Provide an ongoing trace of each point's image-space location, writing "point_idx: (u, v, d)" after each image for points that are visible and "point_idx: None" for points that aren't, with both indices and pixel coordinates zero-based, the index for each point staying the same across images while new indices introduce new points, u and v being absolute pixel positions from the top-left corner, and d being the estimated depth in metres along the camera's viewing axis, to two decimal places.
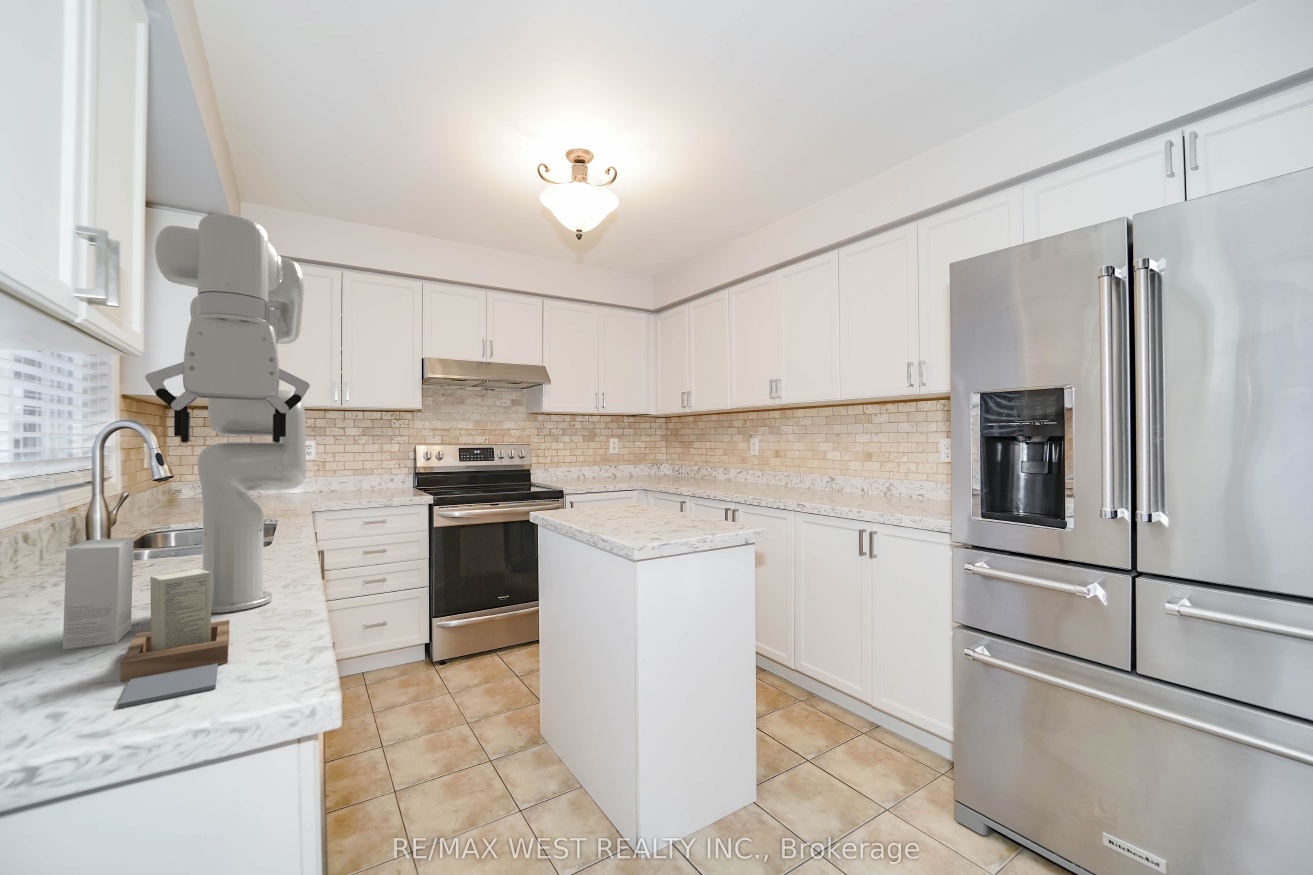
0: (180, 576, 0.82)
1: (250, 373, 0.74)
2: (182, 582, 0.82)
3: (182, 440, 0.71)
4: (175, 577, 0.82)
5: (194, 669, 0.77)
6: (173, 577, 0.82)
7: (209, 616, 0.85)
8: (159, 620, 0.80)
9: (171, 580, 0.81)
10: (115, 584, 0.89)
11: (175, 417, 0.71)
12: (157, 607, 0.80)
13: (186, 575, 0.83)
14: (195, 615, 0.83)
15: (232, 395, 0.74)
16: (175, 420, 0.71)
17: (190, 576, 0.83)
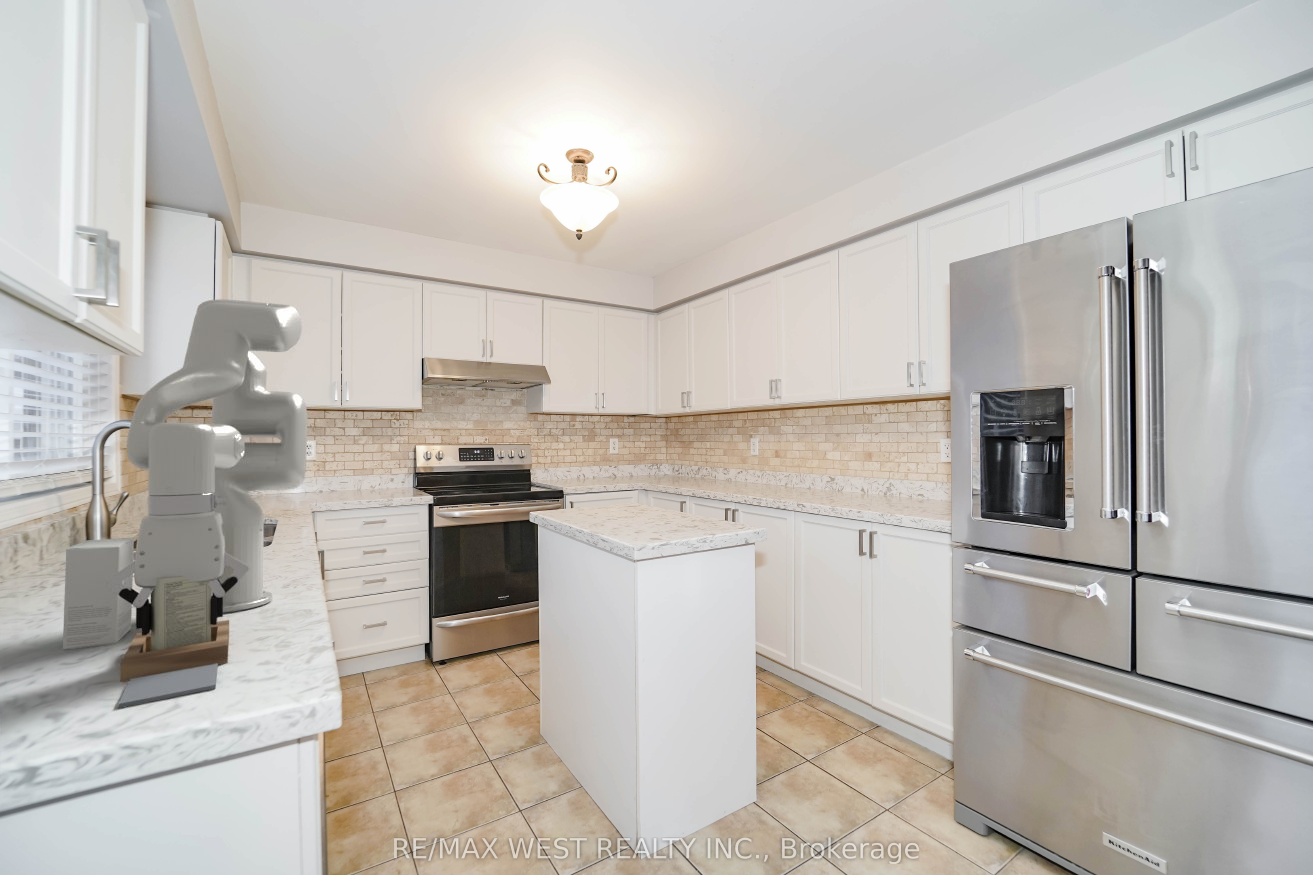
0: None
1: (196, 562, 0.83)
2: (182, 581, 0.82)
3: (143, 634, 0.80)
4: (175, 577, 0.82)
5: (194, 669, 0.77)
6: (173, 577, 0.82)
7: (209, 616, 0.85)
8: (159, 620, 0.80)
9: (171, 580, 0.81)
10: None
11: (137, 613, 0.80)
12: (157, 607, 0.80)
13: None
14: (194, 615, 0.83)
15: None
16: (137, 615, 0.80)
17: None
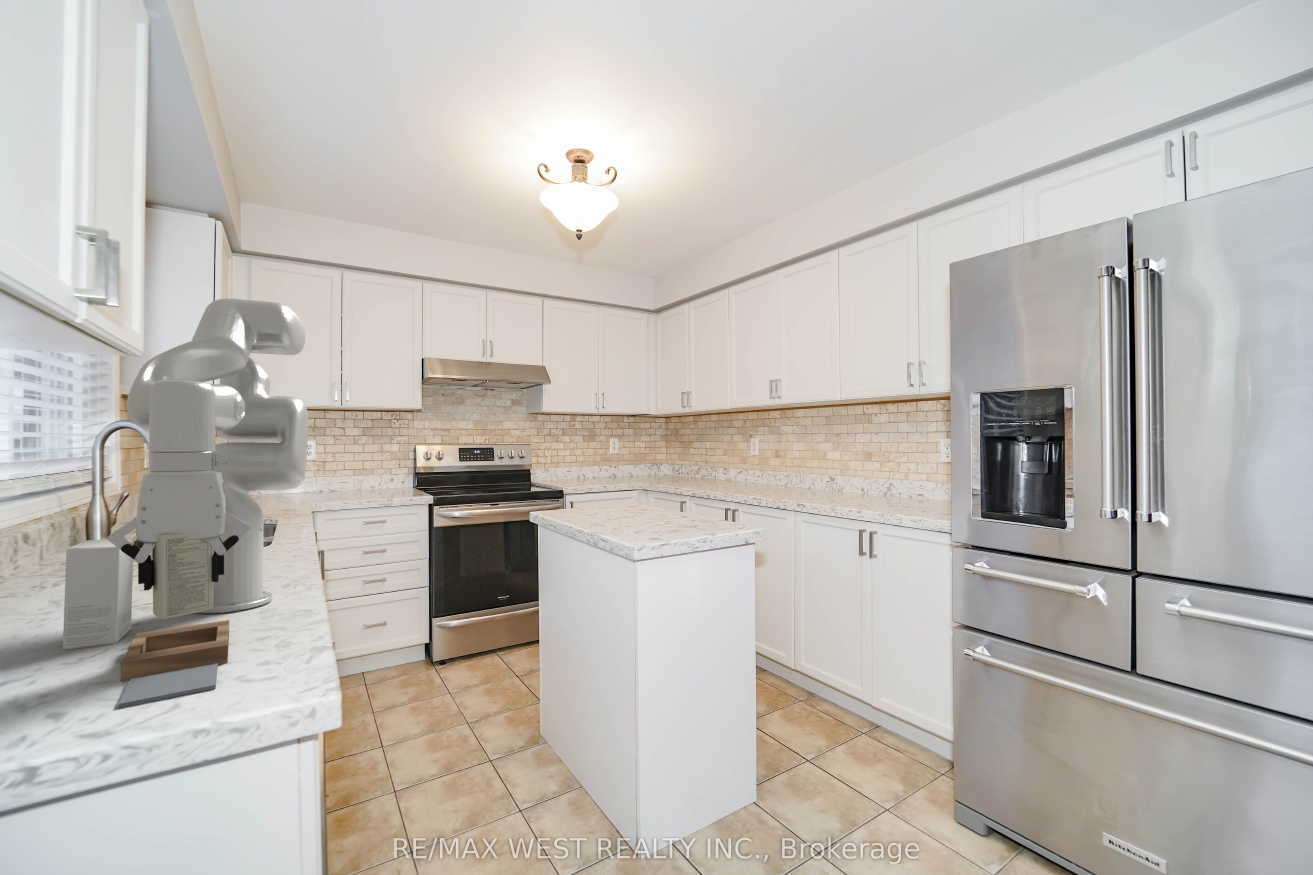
0: None
1: (198, 519, 0.83)
2: (183, 538, 0.82)
3: (145, 589, 0.81)
4: (177, 534, 0.82)
5: (194, 669, 0.77)
6: None
7: (210, 573, 0.85)
8: (161, 576, 0.81)
9: (172, 536, 0.81)
10: (115, 584, 0.89)
11: (139, 568, 0.81)
12: (159, 563, 0.81)
13: None
14: (196, 572, 0.84)
15: None
16: (139, 571, 0.81)
17: None
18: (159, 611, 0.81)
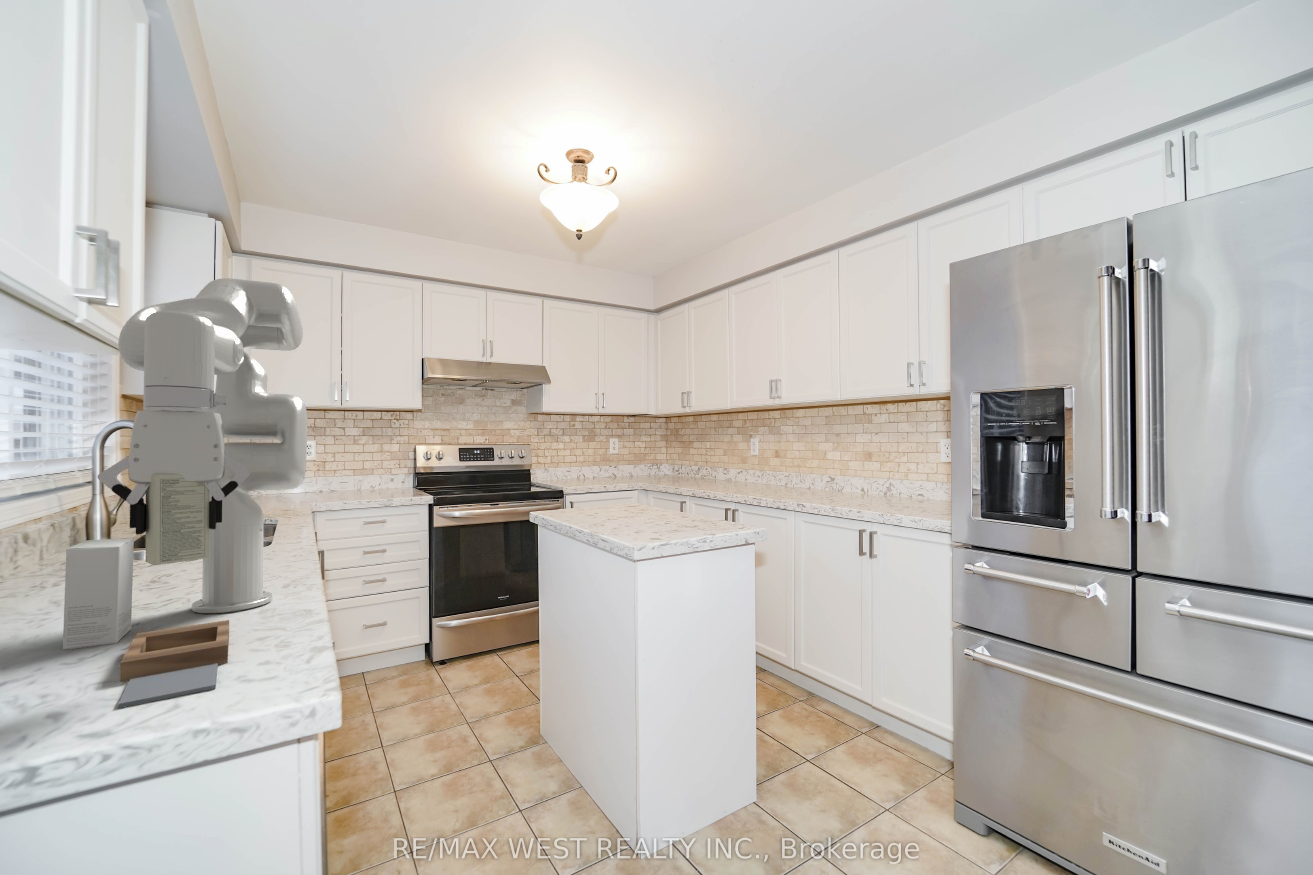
0: (177, 474, 0.77)
1: (194, 460, 0.78)
2: (179, 479, 0.77)
3: (137, 532, 0.75)
4: (172, 474, 0.77)
5: (194, 669, 0.77)
6: (169, 474, 0.77)
7: (207, 519, 0.80)
8: (154, 518, 0.75)
9: (167, 476, 0.76)
10: (115, 584, 0.89)
11: (131, 510, 0.75)
12: (152, 504, 0.75)
13: None
14: (192, 517, 0.78)
15: None
16: (130, 513, 0.75)
17: None
18: (152, 557, 0.76)
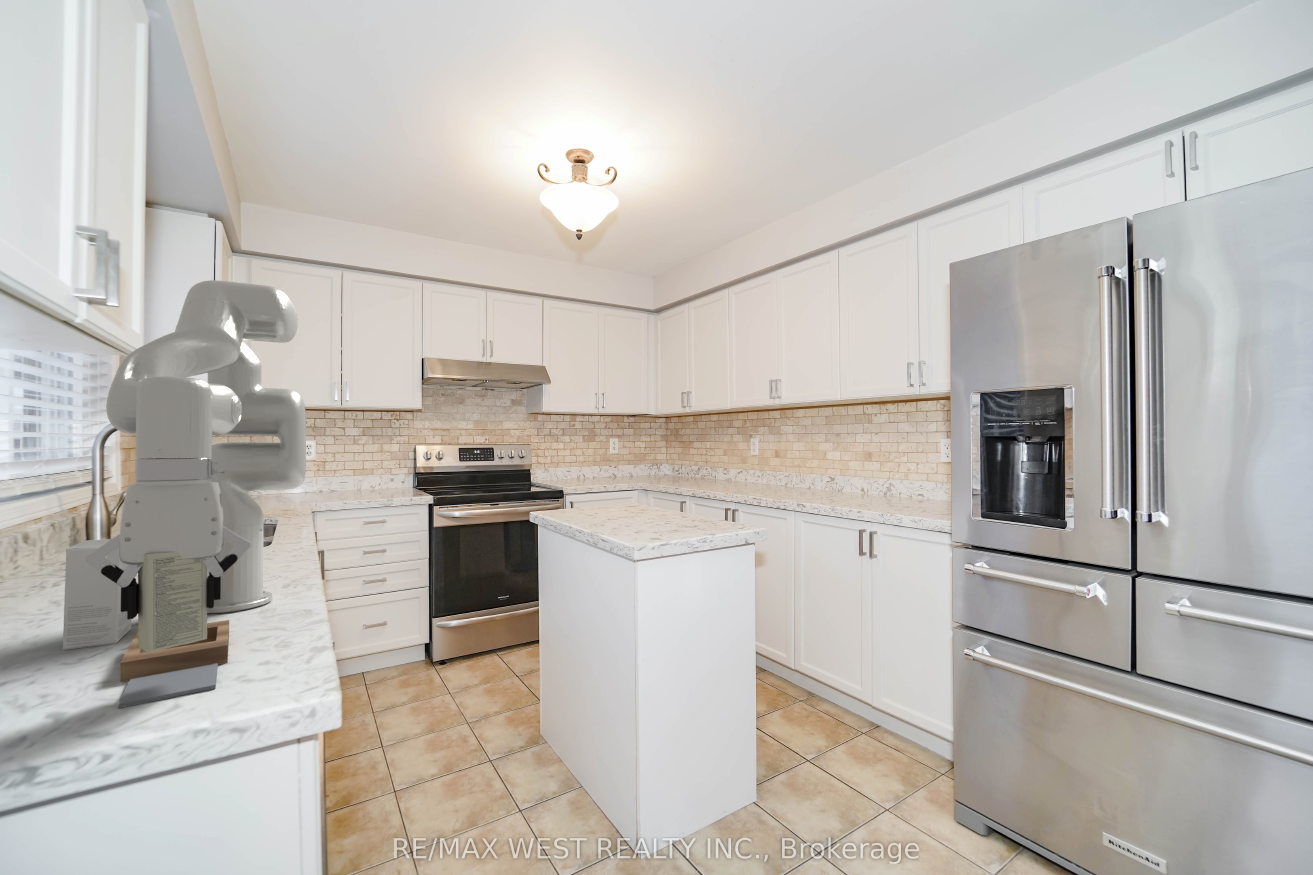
0: None
1: (191, 536, 0.73)
2: (174, 558, 0.72)
3: (129, 617, 0.69)
4: None
5: (194, 669, 0.77)
6: None
7: (205, 597, 0.74)
8: (147, 602, 0.70)
9: (161, 555, 0.71)
10: (115, 584, 0.89)
11: (122, 593, 0.70)
12: (145, 586, 0.70)
13: None
14: (188, 596, 0.73)
15: None
16: (122, 596, 0.70)
17: None
18: (145, 643, 0.70)
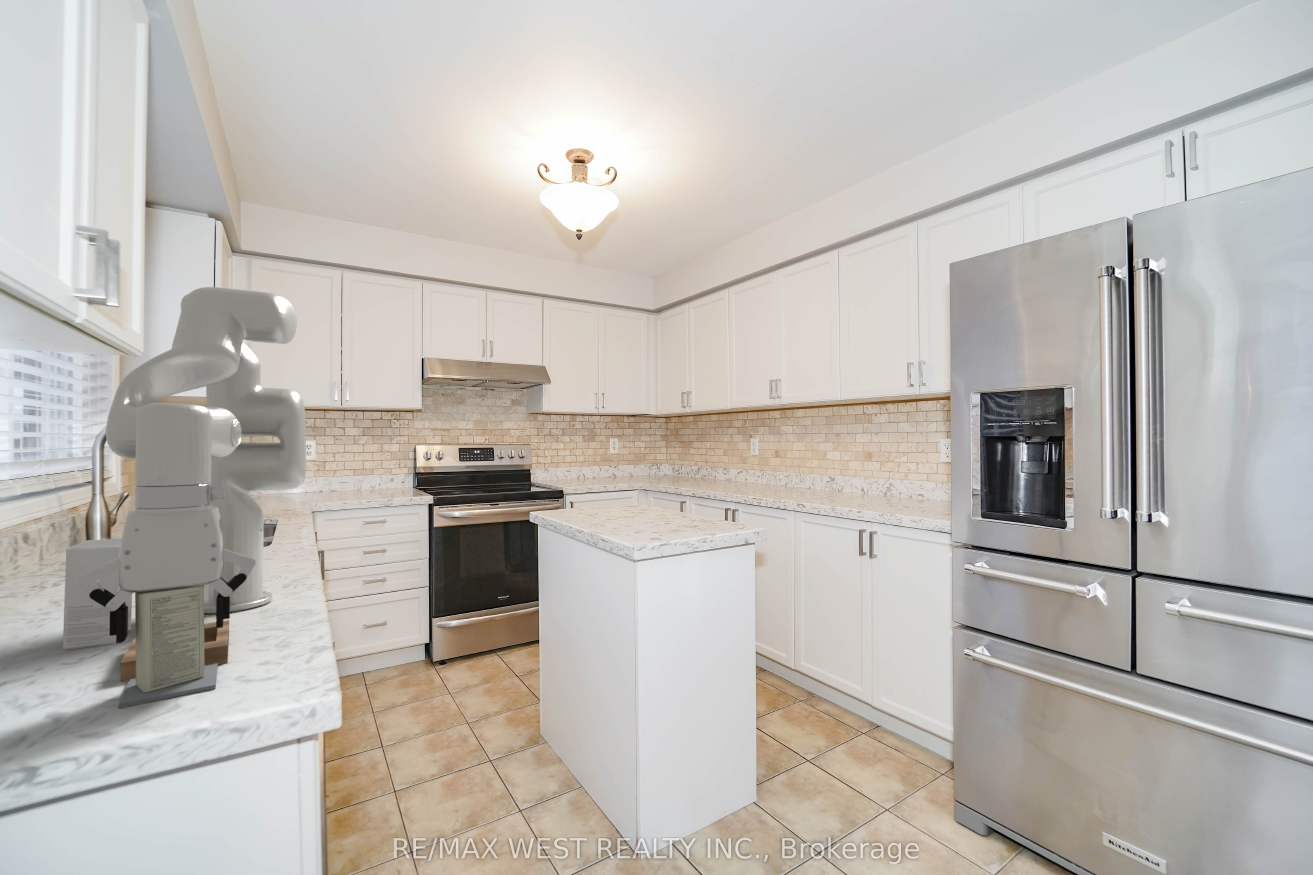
0: (169, 590, 0.72)
1: (190, 563, 0.72)
2: (170, 597, 0.71)
3: (117, 641, 0.69)
4: (163, 592, 0.71)
5: None
6: (160, 592, 0.71)
7: (202, 635, 0.74)
8: (144, 642, 0.70)
9: (158, 595, 0.71)
10: (115, 584, 0.89)
11: (110, 617, 0.69)
12: (142, 626, 0.70)
13: (176, 589, 0.72)
14: (185, 635, 0.73)
15: (171, 587, 0.72)
16: (110, 620, 0.69)
17: (180, 590, 0.72)
18: (142, 683, 0.70)
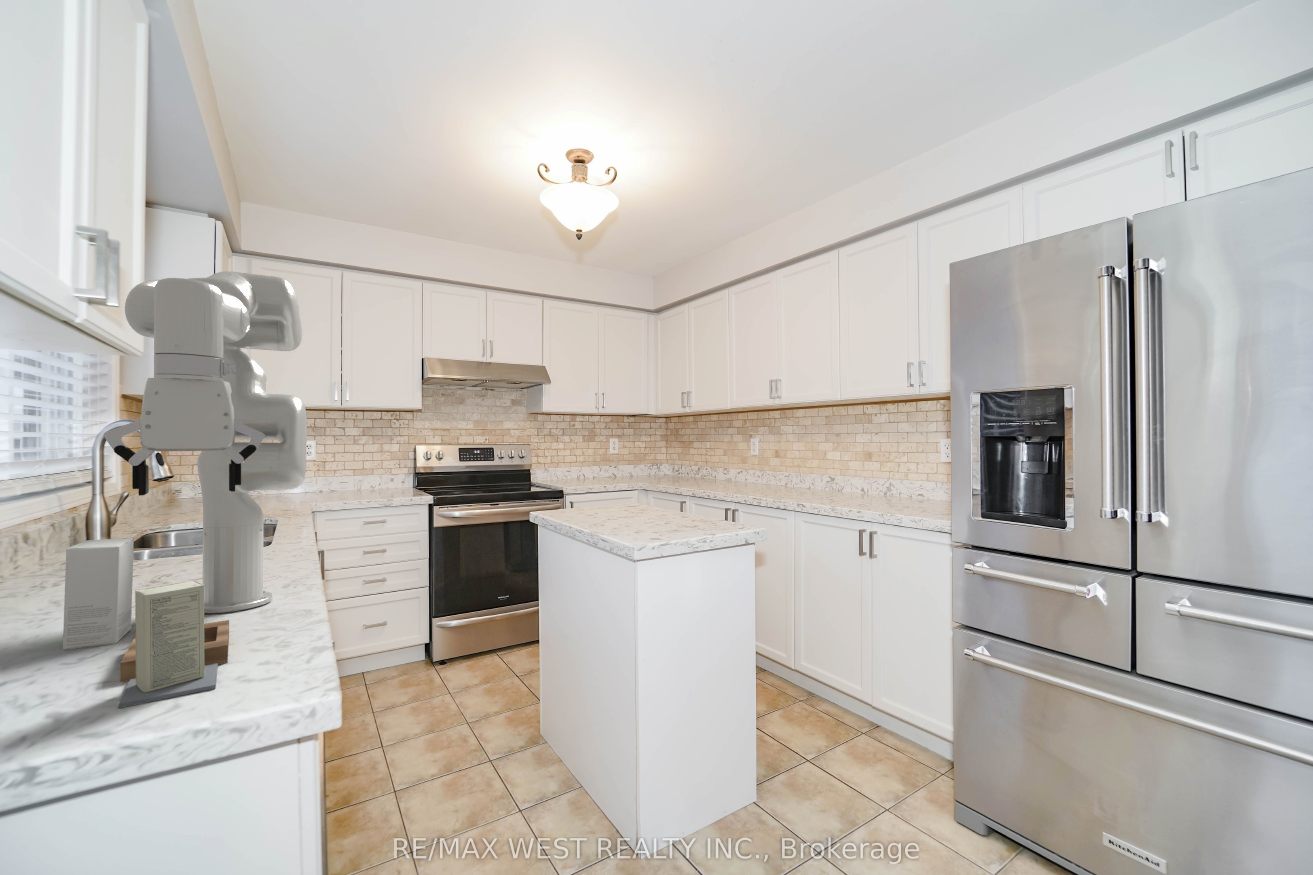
0: (169, 590, 0.72)
1: (205, 428, 0.79)
2: (170, 597, 0.71)
3: (140, 494, 0.76)
4: (163, 592, 0.71)
5: None
6: (160, 592, 0.71)
7: (202, 635, 0.74)
8: (144, 642, 0.70)
9: (158, 595, 0.71)
10: (115, 584, 0.89)
11: (133, 472, 0.76)
12: (142, 626, 0.70)
13: (176, 589, 0.72)
14: (185, 635, 0.73)
15: (188, 449, 0.78)
16: (133, 474, 0.76)
17: (180, 590, 0.72)
18: (142, 683, 0.70)
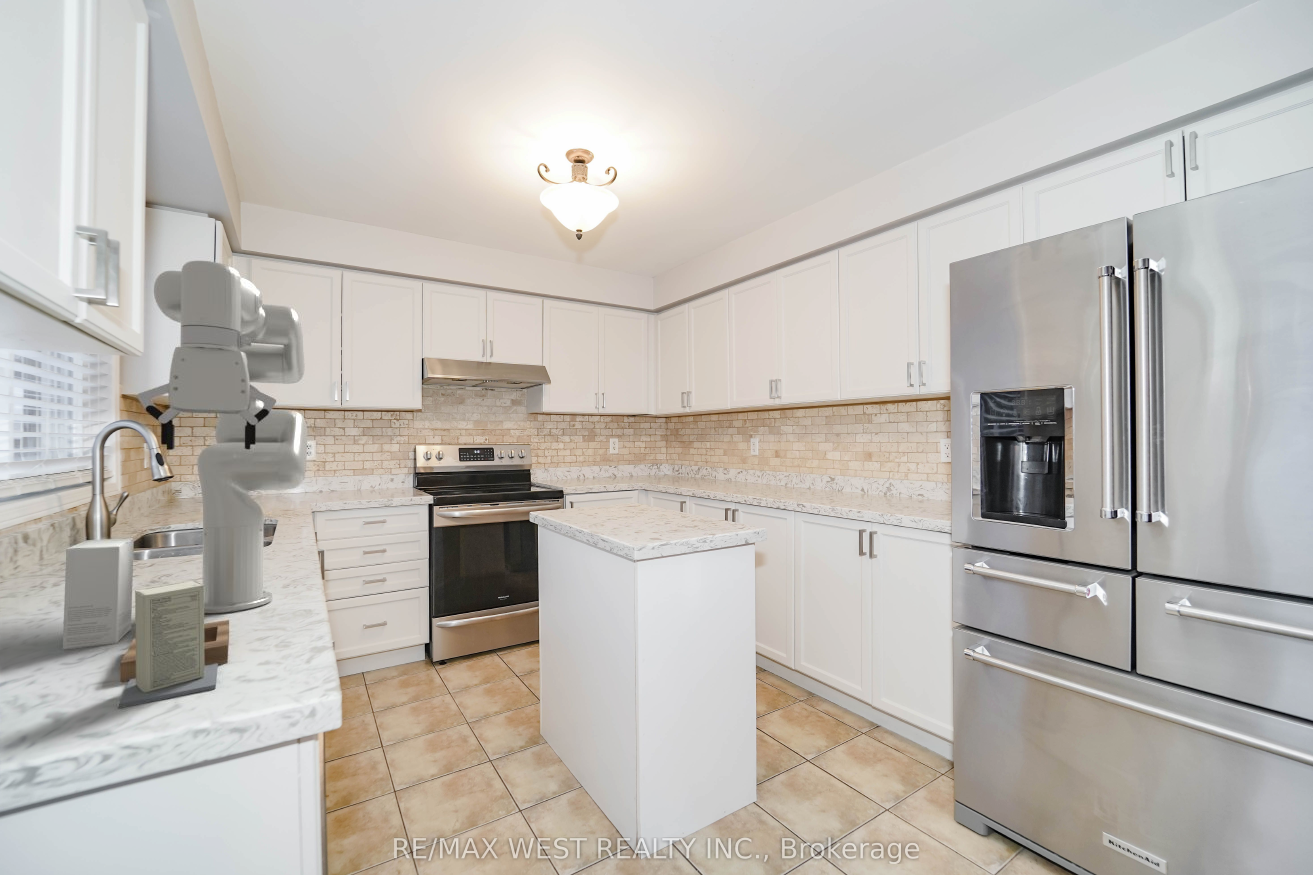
0: (169, 590, 0.72)
1: (225, 392, 0.90)
2: (170, 597, 0.71)
3: (167, 448, 0.86)
4: (163, 592, 0.71)
5: None
6: (160, 592, 0.71)
7: (202, 635, 0.74)
8: (144, 642, 0.70)
9: (158, 595, 0.71)
10: (115, 584, 0.89)
11: (162, 429, 0.86)
12: (142, 626, 0.70)
13: (176, 589, 0.72)
14: (185, 635, 0.73)
15: (209, 410, 0.89)
16: (162, 431, 0.86)
17: (180, 590, 0.72)
18: (142, 683, 0.70)
